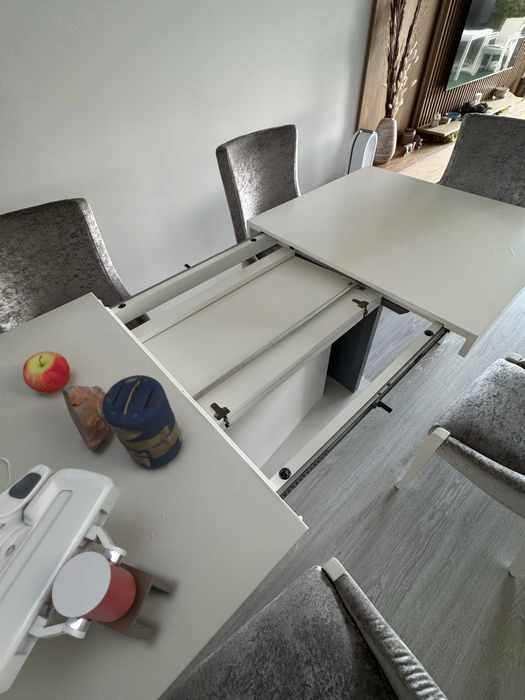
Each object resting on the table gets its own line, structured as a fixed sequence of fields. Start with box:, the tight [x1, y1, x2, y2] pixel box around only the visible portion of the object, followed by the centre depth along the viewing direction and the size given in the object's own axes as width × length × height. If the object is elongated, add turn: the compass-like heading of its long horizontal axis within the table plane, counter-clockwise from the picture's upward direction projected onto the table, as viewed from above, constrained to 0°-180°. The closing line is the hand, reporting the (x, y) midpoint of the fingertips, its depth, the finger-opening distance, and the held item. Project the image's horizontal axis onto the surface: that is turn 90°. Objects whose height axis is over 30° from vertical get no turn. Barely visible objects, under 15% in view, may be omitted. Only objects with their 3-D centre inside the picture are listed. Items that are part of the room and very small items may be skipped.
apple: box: [22, 350, 71, 394], centre depth 71 cm, size 8×8×10 cm
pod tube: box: [52, 551, 136, 622], centre depth 36 cm, size 5×5×9 cm
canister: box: [102, 374, 183, 469], centre depth 58 cm, size 10×10×18 cm
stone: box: [62, 385, 110, 452], centre depth 65 cm, size 13×8×10 cm
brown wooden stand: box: [93, 562, 173, 639], centre depth 45 cm, size 6×6×11 cm
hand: (105, 591), depth 36 cm, fingers closed on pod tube, 5 cm apart
